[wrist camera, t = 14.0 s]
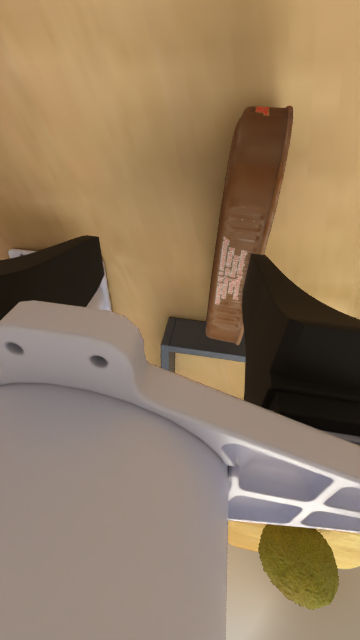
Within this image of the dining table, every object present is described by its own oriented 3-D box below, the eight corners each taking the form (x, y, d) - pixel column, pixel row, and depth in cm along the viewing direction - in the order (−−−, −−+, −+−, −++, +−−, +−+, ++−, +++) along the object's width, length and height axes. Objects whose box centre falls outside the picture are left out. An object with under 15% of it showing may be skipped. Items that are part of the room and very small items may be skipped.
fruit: (245, 521, 68) (244, 590, 54) (282, 486, 64) (292, 550, 49) (301, 565, 66) (314, 647, 52) (342, 532, 62) (370, 611, 48)
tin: (241, 302, 26) (242, 370, 20) (208, 298, 26) (199, 364, 20) (287, 103, 16) (319, 110, 10) (235, 100, 17) (233, 106, 10)
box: (167, 415, 42) (162, 442, 38) (169, 316, 29) (160, 344, 26) (258, 430, 40) (260, 459, 37) (301, 333, 27) (309, 365, 24)
